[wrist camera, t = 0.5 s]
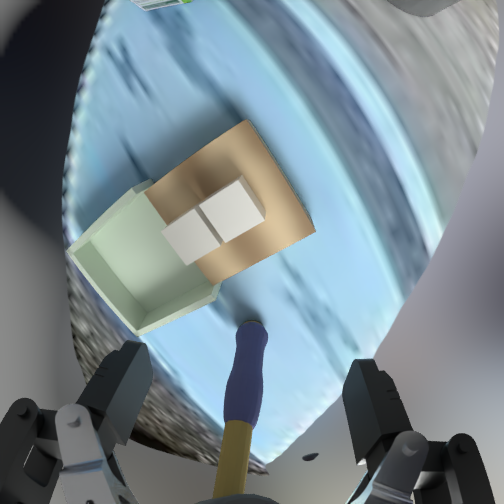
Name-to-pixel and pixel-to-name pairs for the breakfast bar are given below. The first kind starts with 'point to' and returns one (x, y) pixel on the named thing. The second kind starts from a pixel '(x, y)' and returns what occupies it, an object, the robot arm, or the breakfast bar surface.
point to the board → (220, 174)
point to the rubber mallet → (241, 417)
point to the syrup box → (157, 3)
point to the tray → (139, 265)
